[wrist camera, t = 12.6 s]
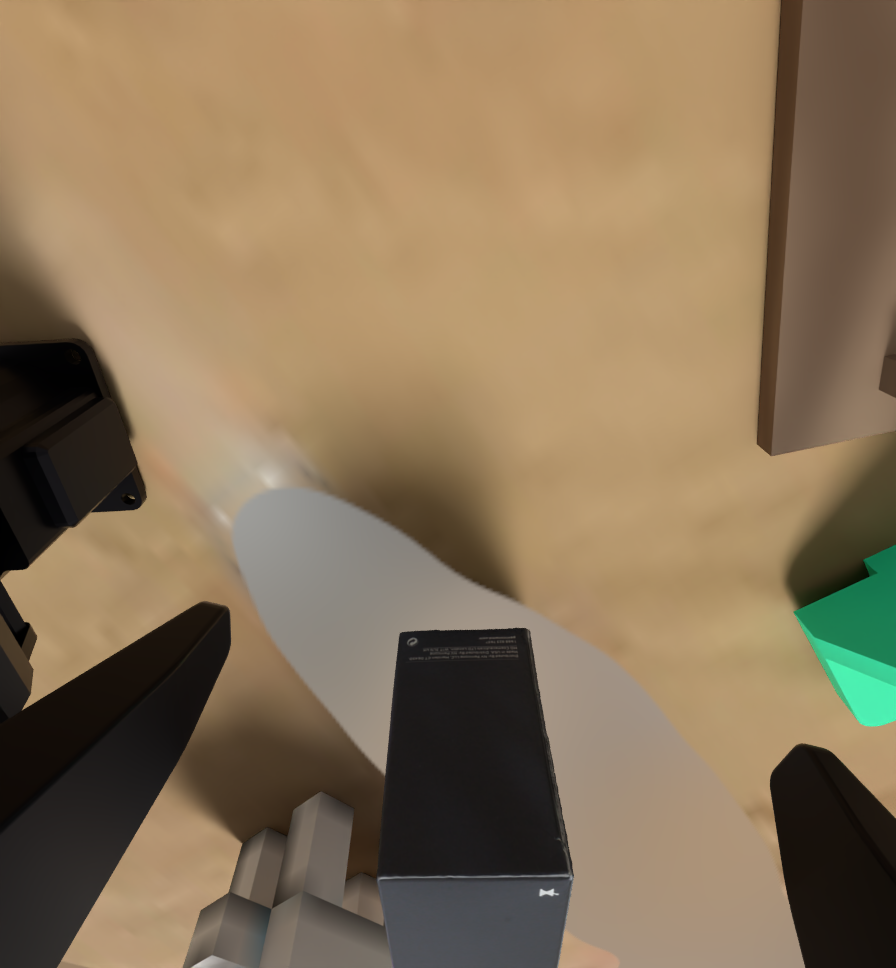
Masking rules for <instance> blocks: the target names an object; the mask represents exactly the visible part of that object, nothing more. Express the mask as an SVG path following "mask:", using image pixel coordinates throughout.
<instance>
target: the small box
mask: <svg viewBox="0 0 896 968" xmlns="http://www.w3.org/2000/svg"><path fill="white" fill-rule="evenodd" d="M573 878H574V874H573V869H572V861H571V857H570V852H569V847H568V841H567V834H566V830H565V824H564V820H563V816H562V807H561V804H560V798H559V794H558V786H557V783H556V776H555V773H554V766H553V760H552V755H551V751H550V744H549V738H548V736H547V733H546V728H545V721H544V715H543V710H542V704H541V699H540V692H539V688H538V681H537V673H536V668H535V661H534V654H533V649H532V643H531V637H530V631H529V630H528V629H526V628H513V629H510V628H509V629H494V630H493V629H487V630H448V631H447V630H445V631H440V630H429V631H414V632H413V631H412V632H402V633H400V636H399V644H398V653H397V661H396V670H395V679H394V689H393V698H392V711H391V722H390V733H389V743H388V754H387V764H386V775H385V785H384V796H383V808H382V819H381V830H380V842H379V855H378V869H377V885H378V890H379V896H380V901H381V906H382V911H383V917H384V922H385V928H386V933H387V939H388V944H389V950H390V956H391V962H392V968H558V964H559V959H560V954H561V947H562V941H563V935H564V930H565V924H566V918H567V913H568V908H569V902H570V897H571V890H572V884H573Z"/></svg>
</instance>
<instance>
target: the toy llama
mask: <svg viewBox="0 0 896 968" xmlns="http://www.w3.org/2000/svg"><path fill="white" fill-rule="evenodd" d="M353 815H354V808H352V807H350V806H348V805H346V804H344V803H342V802H340V801H339V800H337V799H335V798H333V797H331V796H329V795H327V794H325V793H324V792H322V791H321V792H319V793H318V794H316V795H315V796H313V797H312V798H310V799H309V800H307V801H306V802H304V803H303V804H301V805H300V806H298V807H297V808H295V809H294V810H293V814H292V819H291V823H290V828H289V832H288V837H287V836H285V835H283V834H281V833H279V832H276V831H274V830H272V829H270V828H268V827H267V828H265V829H264V830H262V831H261V832H259V833H258V834H256V835H255V836H253V837H252V838H250V839H249V840H247V841H246V842H244V843H243V844H242V847H241V851H240V854H239V858H238V861H237V865H236V868H235V872H234V875H233V879H232V882H231V886H230V889H229V893H228V894H226V895H224V896H223V897H221V898H220V899H218V900H216V901H215V902H213V903H212V904H210V905H209V906H207V907H205V908H204V909H202V910H201V911H200V915H199V918H198V921H197V924H196V927H195V930H194V934H193V937H192V940H191V943H190V946H189V949H188V953H187V956H186V959H185V962H184V965H183V968H392V962H391V956H390V950H389V944H388V939H387V933H386V928H385V922H384V917H383V911H382V906H381V901H380V896H379V890H378V885H377V879H375V878H373V877H371V876H368V875H366V874H364V873H362V872H361V873H359V874H358V875H356V876H354V877H352V878H351V879H349V880H347V881H345V879H346V871H347V863H348V855H349V847H350V839H351V831H352V823H353Z"/></svg>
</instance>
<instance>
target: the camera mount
mask: <svg viewBox="0 0 896 968" xmlns="http://www.w3.org/2000/svg"><path fill="white" fill-rule="evenodd" d="M863 561H864V563H865V566H866V568H867V570H868V573H869V575H870V577H868V578H866V579H864V580H861V581H859V582H857V583H855V584H853V585H851V586H848V587H846V588H844V589H842V590H840V591H837V592H835V593H833V594H831V595H829V596H827V597H824V598H822V599H820V600H818V601H816V602H814V603H811V604H809V605H807V606H805V607H803V608H801V609H798V610H796V611H794V614H795V616H796V618H797V620H798V621H799V623H800V625H801V627H802V629H803V631H804V633H805V635H806V636H807V638H808V640H809V642H810V644H811V646H812V648H813V650H814V651H815V653H816V655H817V657H818V659H819V661H820V663H821V664H822V666H823V668H824V670H825V672H826V674H827V676H828V678H829V679H830V681H831V683H832V685H833V687H834V689H835V691H836V693H837V694H838V696H839V697H840V698H841V699H842V701H843V702H844V703H845V705H846V706H847V707H848V708H849V710H850V711H851V712H852V714H853V715H854V716H855V718H856V719H857V720H858V721H859V723H861V724H862V725H865V726H881V725H885V724H887V723H890V722H893V721H895V720H896V545H894V546H892V547H889V548H887V549H885V550H883V551H881V552H879V553H877V554H875V555H872V556H870V557H868V558H866V559H864V560H863Z"/></svg>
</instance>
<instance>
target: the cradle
mask: <svg viewBox="0 0 896 968" xmlns="http://www.w3.org/2000/svg"><path fill="white" fill-rule="evenodd" d="M893 431H896V0H782V7H781V25H780V43H779V61H778V79H777V97H776V115H775V134H774V152H773V170H772V188H771V206H770V224H769V242H768V260H767V278H766V297H765V315H764V333H763V351H762V369H761V387H760V405H759V423H758V441H757V445H759V446H760V447H761V448H762V449H763V450H764V451H766V452H767V453H768V454H769V455H770V456H775V455H780V454H785V453H790V452H794V451H799V450H804V449H809V448H814V447H819V446H824V445H829V444H834V443H839V442H844V441H849V440H853V439H858V438H863V437H868V436H873V435H878V434H883V433H888V432H893Z"/></svg>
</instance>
